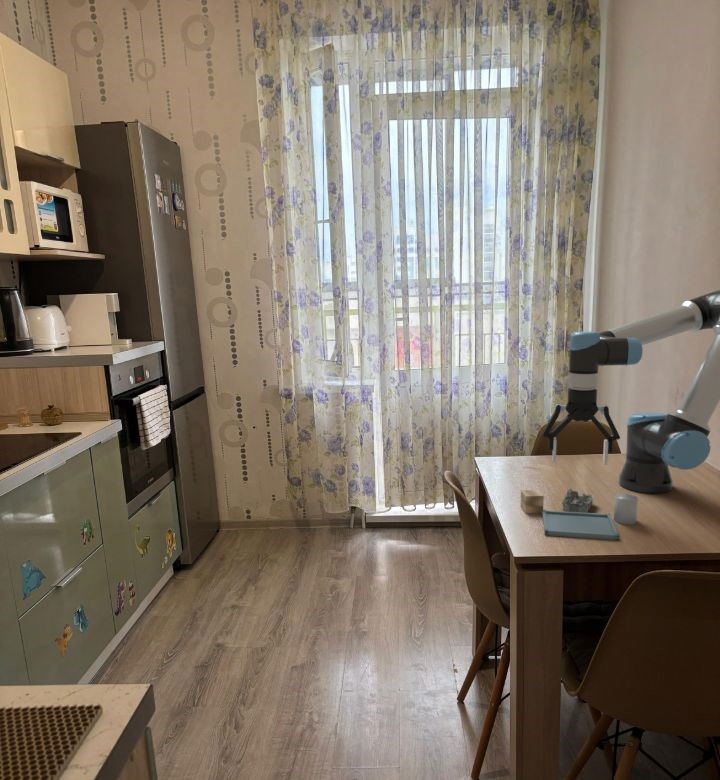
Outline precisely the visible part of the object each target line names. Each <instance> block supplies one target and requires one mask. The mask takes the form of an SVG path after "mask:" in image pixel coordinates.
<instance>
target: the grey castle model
mask: <svg viewBox="0 0 720 780" xmlns="http://www.w3.org/2000/svg"><path fill="white" fill-rule="evenodd" d="M594 498H595V495H591V494H585V493H582V495H580V494H579V491H577V490H573V489H572V488H571V487H570V488H569V489H568V490H567V492H566V494H565V495H564V497H563V499H562V500H561V501H562V502H561V505H562V511H566V512H582V513H589V510H591V507H592V506H593V500H594Z"/></svg>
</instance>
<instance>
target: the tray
mask: <svg viewBox="0 0 720 780" xmlns="http://www.w3.org/2000/svg"><path fill="white" fill-rule="evenodd" d="M541 515H542V524H543V533H544V536H554V537H567V538H581V539H582V538H584V539H595V540H597V539H599V540H611V541H619V540H620V535H619V532H618V530H617V528H616V525H615V523H614V522H615V521H614V519H613V518H612V515H611V514H610V513H597V512H595V513H594V512H588V513H582V512H566V511H565V510H547V509H543V510H542V513H541Z"/></svg>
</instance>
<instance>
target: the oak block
mask: <svg viewBox="0 0 720 780" xmlns="http://www.w3.org/2000/svg"><path fill="white" fill-rule="evenodd" d="M544 497H545V495H543V493H542V492H541V491H540V490H539V489H528V490H520V508H521V509H522V510H523V512H524V513H525V514H538V513H539V514H540V513H541V514H542V510H544V501H545V500H544V499H545V498H544Z"/></svg>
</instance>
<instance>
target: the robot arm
mask: <svg viewBox="0 0 720 780" xmlns="http://www.w3.org/2000/svg"><path fill="white" fill-rule="evenodd" d="M709 329H713V330H712V331H713V332H714V338H712V341H711V343H710V345H709V347H708V348H707V351H706V352H705V355H704V357H703V358H702V361H701V362H700V364H699V366H698V368H697V370H696V372H695V374H694V376H693V378H692V380H691V382H690V383H689V385H688V387H687V388H686V391H685V393H684V395H683V397H682V398H681V401H680V402H679V404H678V406H677V409H676V410H675V411H671V412H668V413H660V412H642V413H639V412H638V413H633V414H630V415H629V417H628V418H627V423H626V424H627V425H626V427H627V429H626V432H627V433H626V451H625V452H626V453H625V454H626V457H625V461H624V464H623V466H622V469H621V471H620V473H619V477H618V484H619V486H621V487H622V488H624V489H627V490H630V491H634V492H638V493H645V494H661V493H662V494H663V493H664V494H665V493H667V492H670V491H672V490H673V483H674V482H673V478H672V475H671V472H670V468H669V467H671V468H676V469H679V470H683V471H684V470H685V471H686V470H691V469H695V468H697V467H699V466H701V465H702V464H703V463H704V462H705V461H706V460H707V459H708V457H709V455H710V452H711V445H710V444H711V442H710V439H709V438H708V436H709V435H710V432H711V429H710V426H709V421H710V419H711V418H712V416H713V414H714V412H715V410H716V408H717V406H718V405H719V403H720V290H716V291H712V292H709V293H706V294H703V295H701V296H698V297H694V298H692V299H688V300H686V301H684V302H682V303H681V305H680V306H678V307H676V308H672V309H669V310H666V311H665V310H664V311H663V312H660V313H656V314H654V315H650V316H647V317H644V318H641V319H638V320H635V321H632V322H629V323H626V324H623V325H619V326H617V327H614V328H609V329H608V330H604V331H601V332H598V331H574V332H572V333H571V335H570V339H569V347H568V350H569V355H568V356H569V358H568V359H569V360H568V361H569V362H568V364H569V365H568V387H569V388H568V390H567V403H566V405H565V404H561V403H556V404H555V408H554V411H553V412H552V413H553V414H552V415H551V417H550V419H549V420H548V422H547V424H545V425H546V426H545V427H544V429H543V431H542V437H546V438H547V439H548V449H549V451H552V458H551V459H552V463H556V461H557V443H558V442H557V436H558V434H560V432H562V430H564V428H565V427H566V426H567V425H569V423H571V422H572V421H575V422H581V421H582V422H588V421H591V422H592V423H593V425H595V426H596V427H597V429H598V430H599V431H600V432H601V434H602V435H603V436H604V437H605V438H606V439H603V452H602V453H603V454H602V455H603V456H602V462H603V464H604V465H608V457H609V456H608V455H609V453H612V452H613V442H614V441H617V440H620V439H621V436H620V434H619V432H618V430H617V427H616V425H615V424H614V421H613V419H612V417H611V415H610V411H609V407H608V406H609V405H607V404H603V405H599V406H598V405H597V399H598V398H597V397H598V395H597V394H598V390H597V389H596V388H597V387H598V378H599V377H598V376H599V367H604V366H606V367H607V366H626V367H627V366H630V365H631V366H632V365H637V364H638V363H640V361H641V360H642V357H643V351H644V350H643V349H644V347H643V346H644V345H647V344H651V343H653V342H657V341H660V340H663V339H666V338H669V337H673V336H676V335H679V334H682V333H685V332H688V331H690V332H693V333H695V332H698V331H702V330H709ZM565 410H566V412H567V415H566V416H565V418H564V419H562V421H561V422H559V423H558V424H557V425H556V427H554V425H555V423H556V421H557V419H559V416H560V414H561V413H563V411H565ZM598 411H599V412H600V413H601V415H603V417H604V418H605V421H606V422H607V425H608V427H609V428H610V431H611V432H612V434H610V433H609V432H608V430H607V429H606V428H605V427H604V426H603V425H602V424H601V422H600V421H599V420H598V419H597V418H596V416H595V415H596V414H597V412H598ZM553 427H554V429H553ZM552 429H553V430H552ZM550 431H551V432H550Z"/></svg>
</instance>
